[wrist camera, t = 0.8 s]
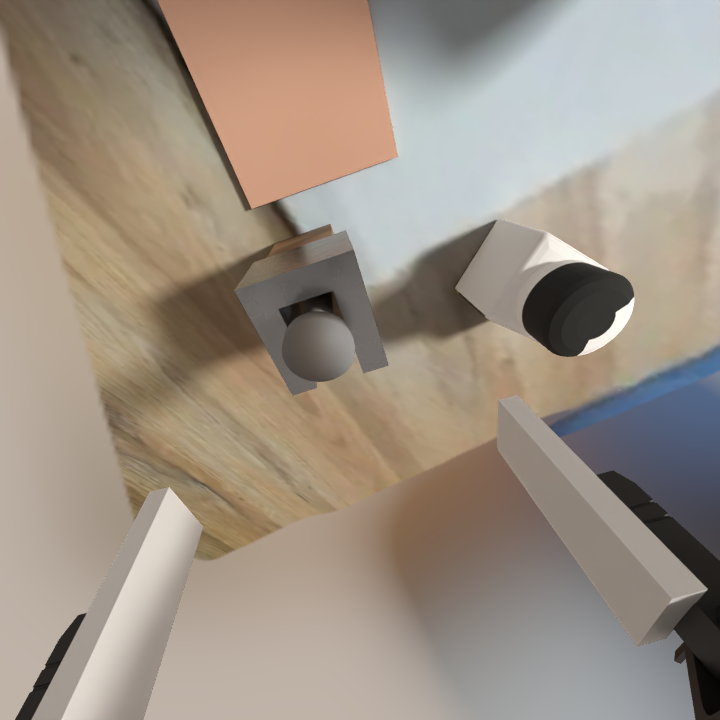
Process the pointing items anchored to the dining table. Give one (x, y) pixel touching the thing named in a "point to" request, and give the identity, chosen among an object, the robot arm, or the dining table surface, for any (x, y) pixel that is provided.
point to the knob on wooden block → (316, 327)
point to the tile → (287, 88)
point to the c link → (303, 281)
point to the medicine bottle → (546, 290)
